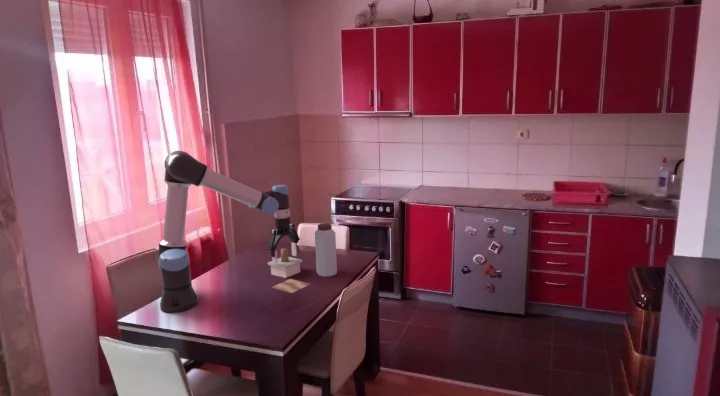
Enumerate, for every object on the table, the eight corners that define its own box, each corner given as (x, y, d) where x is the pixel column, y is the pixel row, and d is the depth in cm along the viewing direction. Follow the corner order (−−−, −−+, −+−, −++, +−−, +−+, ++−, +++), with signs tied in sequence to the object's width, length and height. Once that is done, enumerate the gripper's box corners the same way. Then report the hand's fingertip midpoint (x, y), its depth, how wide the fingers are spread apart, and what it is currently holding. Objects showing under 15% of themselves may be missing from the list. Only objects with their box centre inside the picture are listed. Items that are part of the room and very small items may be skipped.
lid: (285, 269, 240) (284, 254, 239) (267, 264, 247) (266, 250, 246) (302, 262, 250) (301, 248, 248) (285, 258, 257) (284, 244, 255)
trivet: (291, 294, 224) (291, 293, 224) (270, 288, 231) (270, 287, 231) (311, 285, 234) (310, 283, 234) (290, 279, 242) (290, 278, 242)
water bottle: (338, 271, 251) (336, 222, 246) (335, 278, 241) (333, 227, 236) (318, 271, 252) (316, 222, 247) (315, 278, 242) (312, 227, 238)
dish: (286, 279, 243) (285, 268, 242) (271, 275, 249) (270, 264, 247) (300, 272, 251) (299, 262, 249) (285, 269, 256) (285, 259, 255)
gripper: (268, 223, 232) (271, 267, 236) (305, 212, 251) (307, 253, 256) (257, 221, 236) (260, 265, 240) (294, 211, 256) (296, 251, 260)
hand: (284, 259), depth 248 cm, fingers open, 13 cm apart
